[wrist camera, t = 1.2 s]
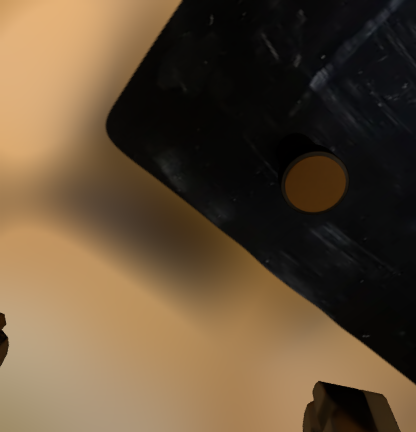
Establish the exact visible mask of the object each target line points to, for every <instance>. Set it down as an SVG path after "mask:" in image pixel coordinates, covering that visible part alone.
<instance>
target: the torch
mask: <svg viewBox="0 0 416 432" xmlns="http://www.w3.org/2000/svg"><path fill="white" fill-rule="evenodd" d="M276 156H277V160H278V163H279V171H278V181H279V185H280V189H281V193H282V196H283V198H284V200H285V202H286V203H287V204H288V205H289V206H290V207H291V208H292V209H294V210H295V211H297V212H299V213H302V214H307V215H318V214H323V213H325V212H328V211H330V210H332V209H333V208H335V207H336V206H337V205H338V204H339V203H340V202H341V201H342V200H343V199H344V197H345V195H346V193H347V191H348V188H349V173H348V170H347V168H346V166H345V164H344V163H343V162H342V160H341V159H340V158H338V157H337V156H336V155H335V154H334V153H333V152H331V151H330V150H329V149H327V148H326V147H323V146H321V145H316V144H315V143H314V142H313V141H312V140H311V139H310V138H309V137H307V136H306V135H304V134H300V133H293V134H290V135H287V136H286V137H284V138H283V139H282V140H281V141H280V142H279V144H278V146H277V150H276Z"/></svg>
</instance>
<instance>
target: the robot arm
mask: <svg viewBox="0 0 416 432" xmlns="http://www.w3.org/2000/svg"><path fill="white" fill-rule="evenodd" d="M5 325H6V320H5V315H4V314H3V313H0V366H1V365H2V363H3V361H4V358H5V357H6V355H7V352H8V346H9V342H8V337H7V336H6V334H5V333H4V332H3V331H2V329H3V327H4V326H5ZM313 398H314V401H312V402H310V403H309V404H307V407H306V410H305V413H304V419H303V432H401V431H400V429H399V427H398V425H397V422H396V420H395V418H394V415H393V413H392V411H391V408H390V406H389V404H388V402H387V399H386V398H385V397H384V396H383V395H382V394H379V393H374V392H369V391H364V390H359V389H355V388H350V387H346V386H341V385H336V384H331V383H326V382H321V381H318V382H317V383H316V384H315V386H314V388H313Z"/></svg>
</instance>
